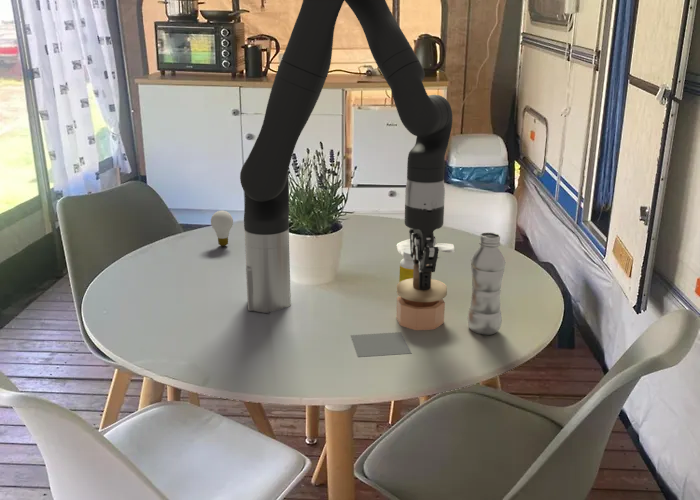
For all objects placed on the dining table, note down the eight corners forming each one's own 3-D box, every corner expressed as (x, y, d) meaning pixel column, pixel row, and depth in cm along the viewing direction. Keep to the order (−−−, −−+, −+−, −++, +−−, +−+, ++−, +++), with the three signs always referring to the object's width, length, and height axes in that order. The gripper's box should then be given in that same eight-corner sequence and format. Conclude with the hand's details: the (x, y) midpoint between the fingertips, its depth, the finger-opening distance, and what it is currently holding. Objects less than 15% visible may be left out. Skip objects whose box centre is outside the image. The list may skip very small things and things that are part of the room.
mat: (357, 359, 123) (357, 356, 123) (350, 338, 132) (350, 335, 132) (411, 356, 125) (411, 353, 125) (401, 334, 133) (401, 332, 133)
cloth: (412, 237, 195) (412, 229, 195) (482, 252, 183) (482, 243, 182) (372, 256, 180) (372, 247, 179) (445, 273, 168) (446, 264, 167)
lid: (403, 303, 131) (403, 276, 129) (392, 284, 141) (392, 259, 139) (453, 300, 133) (454, 273, 131) (439, 281, 142) (440, 256, 140)
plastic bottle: (493, 341, 131) (501, 242, 124) (461, 333, 134) (467, 236, 128) (505, 329, 136) (513, 233, 129) (473, 321, 139) (480, 228, 133)
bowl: (403, 333, 134) (403, 310, 132) (393, 315, 142) (394, 292, 141) (447, 330, 135) (448, 307, 133) (435, 312, 143) (436, 290, 142)
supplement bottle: (421, 297, 151) (423, 255, 148) (397, 295, 152) (398, 254, 149) (423, 288, 156) (425, 248, 153) (400, 286, 157) (401, 246, 154)
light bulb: (232, 250, 182) (230, 213, 179) (210, 249, 182) (208, 213, 179) (236, 243, 188) (234, 208, 185) (214, 243, 188) (212, 207, 185)
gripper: (397, 193, 137) (395, 274, 142) (414, 212, 123) (411, 300, 129) (433, 192, 138) (430, 272, 143) (454, 211, 125) (449, 297, 130)
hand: (421, 285), depth 136 cm, fingers closed on lid, 3 cm apart
